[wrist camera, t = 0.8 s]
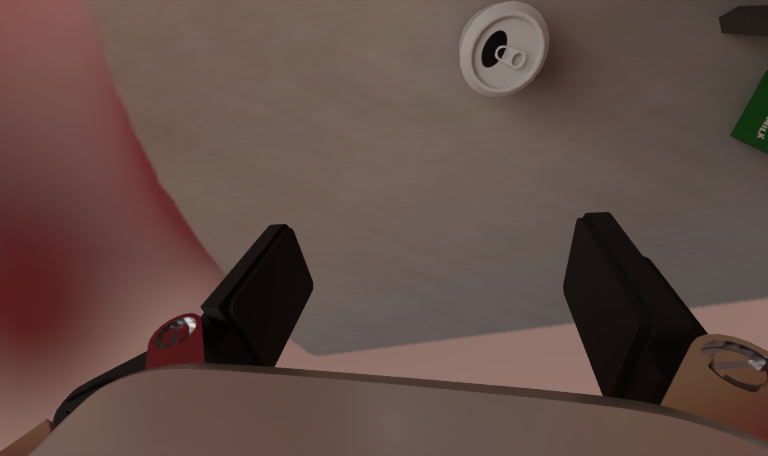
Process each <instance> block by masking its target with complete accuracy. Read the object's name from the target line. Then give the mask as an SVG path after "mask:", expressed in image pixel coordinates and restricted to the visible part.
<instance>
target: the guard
mask: <svg viewBox="0 0 768 456" xmlns="http://www.w3.org/2000/svg"><path fill="white" fill-rule="evenodd" d="M719 21H720V26H721V31H722V33H731V34H744V35H757V36H768V6H739V7H737V8H735V9H734V10H732V11H730V12H728V13H726V14H724V15H723V16H721V17H719Z"/></svg>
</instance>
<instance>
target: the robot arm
mask: <svg viewBox="0 0 768 456" xmlns="http://www.w3.org/2000/svg"><path fill="white" fill-rule="evenodd" d="M563 290H564V295H565V298H566V301H567V303H568V306H569V309H570V311H571V314H572V317H573V319H574V322H575V324H576V327H577V330H578V332H579V335H580V337H581V340H582V343H583V345H584V348H585V351H586V353H587V356H588V358H589V361H590V364H591V366H592V369H593V372H594V374H595V377H596V379H597V382H598V385H599V387H600V390H601V392H602V395H603V396H598V395H588V394H579V393H569V392H560V391H549V390H540V389H530V388H519V387H507V386H496V385H485V384H484V385H483V384H473V383H462V382H450V381H439V380H427V379H415V378H403V377H390V376H379V375H367V374H354V373H342V372H330V371H317V370H304V369H291V368H277V367H275V365H276V363H277V361H278V359H279V357H280V355H281V353H282V351H283V349H284V347H285V345H286V343H287V341H288V339H289V337H290V335H291V333H292V331H293V329H294V327H295V325H296V323H297V321H298V319H299V317H300V315H301V313H302V311H303V309H304V307H305V305H306V303H307V301H308V299H309V297H310V295H311V293H312V291H313V281H312V278H311V275H310V273H309V270H308V267H307V265H306V262H305V259H304V257H303V254H302V252H301V249H300V246H299V244H298V241H297V238H296V236H295V233H294V231H293V229H292V228H289V226H288V225H286V224H276V225H270V226H268V228H267V229H266V230H265V231H264V232H263V233H262V235H261V236H260V237H259V238H258V239H257V241H256V242H255V243H254V244H253V245H252V246H251V248H250V249H249V250H248V251H247V252H246V254H245V255H244V256H243V257H242V258H241V259H240V261H239V262H238V263H237V264H236V265H235V266H234V268H233V269H232V270H231V271H230V272H229V274H228V275H227V276H226V277H225V278H224V280H223V281H222V282H221V283H220V284H219V285H218V287H217V288H216V289H215V290H214V291H213V293H212V294H211V295H210V296H209V297H208V299H207V300H206V301H205V302H204V303H203V304H202V306H201V309H202V310H203V311H204V313H203V315H202V316H201V317H200V316H199V315H197V314H194V313H188V314H183V315H180V316H177V317H175V318H173V319H171V320H169V321H167V322H166V323H165V324H163V325H162V326H161V327H160V328H159V329H158V330H157V331H156V332H155V333H154V334H153V335H152V337H151V338H150V341H149V344H148V349H147V351H146V352H144V353H143V354H140V355H139V356H137V357H135V358H133V359H131V360H129V361H127V362H125V363H123V364H121V365H119V366H117V367H115V368H113V369H111V370H110V371H108V372H106V373H104V374H102V375H100V376H98V377H96V378H94V379H92V380H90V381H88V382H87V383H85V384H83V385H82V386H80V387H78V388H77V389H75V390H74V391H73V392H72V393H71V394H70V395H69V396H68V397H67V398H66V399H65V400H64V401H63V403H62V404H61V405H60V407H59V408H58V409H57V411H56V413H55V416H54V420H53V421H52V422H51V421H50V420H48V419H46V420H45V421H43V422H42V423H41V424H39V425H38V426H36V427H35V428H33V429H32V430H31V431H29V432H28V433H26V434H25V435H24V436H22V437H21V438H19V439H18V440H16V441H15V442H13V443H12V444H11V445H9V446H8V447H6V448H5V449H3V450H2V451H1V452H0V456H768V351H766V350H765V349H762V348H761V347H759V346H756V345H754V344H752V343H750V342H748V341H745V340H742V339H739V338H736V337H732V336H727V335H721V334H708V333H707V332H706V331H705V329H704V328H703V327H702V326H701V324H700V323H699V322H698V320H697V319H696V318H695V317H694V315H693V314H692V313H691V311H690V310H689V309H688V308H687V306H686V305H685V304H684V302H683V301H682V300H681V298H680V297H679V296H678V295H677V293H676V292H675V291H674V289H673V288H672V287H671V286H670V284H669V283H668V282H667V280H666V279H665V278H664V277H663V275H662V274H661V273H660V271H659V270H658V269H657V268H656V266H655V265H654V264H653V262H652V261H651V260H650V259H649V258H647V257H644V256H642V254H641V253H640V252H639V250H638V249H637V248H636V246H635V245H634V244H633V242H632V241H631V240H630V238H629V237H628V236H627V235H626V233H625V232H624V231H623V229H622V228H621V227H620V225H619V224H618V223H617V221H616V220H615V219H614V217H613V216H612V215H611V214H610V213H609V212H598V213H586V214H585V215H584V216H583V218H578V219H577V221H576V225H575V230H574V235H573V240H572V245H571V250H570V255H569V260H568V264H567V269H566V274H565V279H564V285H563Z"/></svg>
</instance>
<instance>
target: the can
mask: <svg viewBox="0 0 768 456" xmlns="http://www.w3.org/2000/svg"><path fill="white" fill-rule="evenodd" d="M549 40H550V38H549V33H548V28H547V23H546V22H545V20H544V19H543V17H542V15H541V14H540V12H539V11H537V10H536V9H535V8H533V7H532V6H530V5H529V4H527V3H522V2H517V1H509V2H503V3H498V4H493V5H488V6H487V7H485V8H483V9H481V10H479V11H477V12H476V13H475V14H474V15H473V16H472V17H471V18H470V19H469V20H468V22H467V24H466V26H465V27H464V29H463V31H462V34H461V38H460V42H459V57H460V66H461V69H462V72H463V75H464V78H465V80H466V81H467V82H468V84H469V85H470V86H471V88H472V89H474V90H476V91H477V92H479V93H480V94H482V95H486V96H490V97H503V96H509V95H511V94H513V93H516V92H518V91H520V90H522V89H523V88H524V87H526V86H527V85H528V84H529V83H531V82H532V81H533V80H534V78H535V77H536V76H537V74H538V73H539V72H540V70H541V69H542V67H543V65H544V62H545V60H546V57H547V55H548V49H549Z"/></svg>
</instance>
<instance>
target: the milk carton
mask: <svg viewBox="0 0 768 456" xmlns="http://www.w3.org/2000/svg"><path fill="white" fill-rule="evenodd" d="M730 136H732V137H734V138H736V139H738V140H740V141H742V142H744V143H747V144H749V145H751V146H753V147H755V148H757V149H759V150H761V151H763V152H765V153H767V154H768V71H767V72H766V74H765V75H764V77H763V79H762V81H761V82H760V84H759V86H758V88H757V89H756V91H755V93H754V95H753V96H752V98H751V100H750V102H749V104H748V105H747V107H746V109H745V111H744V112H743V114H742V116H741V118H740V119H739V121H738V123H737V125H736V127H735V128H734V130H733V132H732V134H731V135H730Z"/></svg>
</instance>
